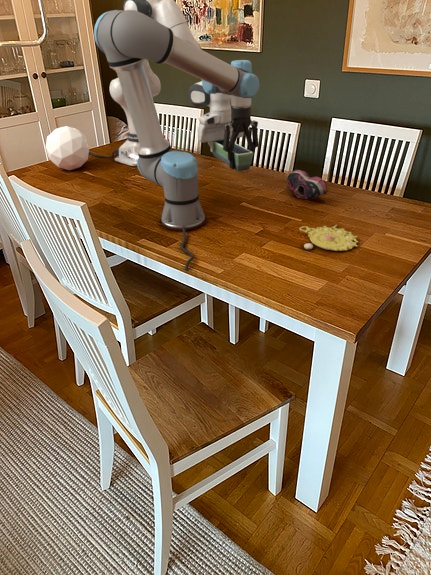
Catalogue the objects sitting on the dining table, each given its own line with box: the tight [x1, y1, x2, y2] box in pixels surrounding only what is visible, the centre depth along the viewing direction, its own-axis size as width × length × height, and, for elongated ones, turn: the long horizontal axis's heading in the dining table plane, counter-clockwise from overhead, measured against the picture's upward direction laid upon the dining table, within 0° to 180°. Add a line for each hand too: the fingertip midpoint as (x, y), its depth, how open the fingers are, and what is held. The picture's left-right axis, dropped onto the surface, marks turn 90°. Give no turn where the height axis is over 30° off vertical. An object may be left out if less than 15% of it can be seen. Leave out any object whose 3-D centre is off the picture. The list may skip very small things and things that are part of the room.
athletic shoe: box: [284, 169, 328, 201], centre depth 172 cm, size 11×22×12 cm
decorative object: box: [299, 224, 359, 252], centre depth 141 cm, size 21×2×20 cm
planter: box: [212, 139, 254, 172], centre depth 184 cm, size 28×7×7 cm, turn 24°
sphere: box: [44, 125, 90, 171], centre depth 207 cm, size 19×20×20 cm
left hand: (221, 150), depth 192 cm, fingers closed on planter, 6 cm apart
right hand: (240, 166), depth 178 cm, fingers closed on planter, 7 cm apart
